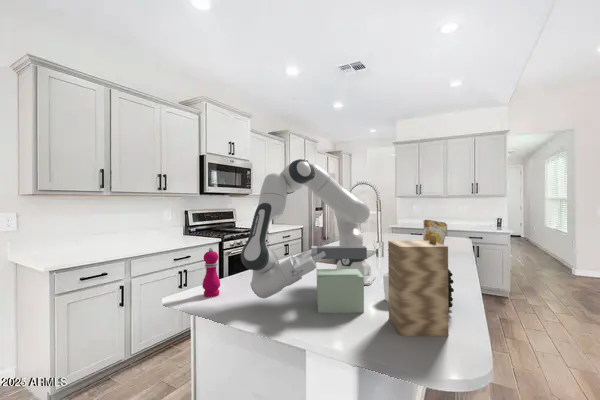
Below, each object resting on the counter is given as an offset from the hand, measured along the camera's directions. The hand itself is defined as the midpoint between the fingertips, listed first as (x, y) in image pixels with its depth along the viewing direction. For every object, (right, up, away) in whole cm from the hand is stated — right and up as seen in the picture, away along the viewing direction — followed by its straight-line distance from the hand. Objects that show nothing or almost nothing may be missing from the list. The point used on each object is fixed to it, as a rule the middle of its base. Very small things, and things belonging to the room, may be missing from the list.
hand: (324, 251), depth 113 cm
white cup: (+28, -20, +6) cm, 35 cm away
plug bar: (+5, -2, 0) cm, 6 cm away
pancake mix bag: (+58, -20, +42) cm, 75 cm away
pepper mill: (-46, -21, +15) cm, 53 cm away
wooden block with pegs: (+27, -20, -18) cm, 39 cm away
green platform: (+6, -21, 0) cm, 21 cm away
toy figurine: (+44, -20, +4) cm, 49 cm away
